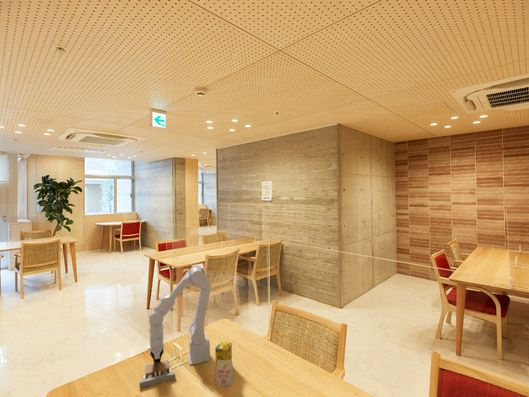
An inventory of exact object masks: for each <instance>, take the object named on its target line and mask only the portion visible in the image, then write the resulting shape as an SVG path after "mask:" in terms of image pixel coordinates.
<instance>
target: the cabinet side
mask: <svg viewBox="0 0 529 397" xmlns="http://www.w3.org/2000/svg"><path fill="white" fill-rule="evenodd" d="M175 379H176V371H172V368H171V367H170V368H169V373H167V374H163V375H161V371H159V376H156V372H155V377H151V378H147V379H146V374H145V373H143V379H140V380H139V389H142V388H145V387H149V386H152V385H153V386H154V385H157V384H160V383H164V382H169V381H173V380H175Z"/></svg>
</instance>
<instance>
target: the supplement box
mask: <svg viewBox="0 0 529 397" xmlns="http://www.w3.org/2000/svg"><path fill="white" fill-rule="evenodd" d="M232 344H233V342H231V341H230V342H229V341H223V340H222V341H221V340H220V341H219V342H218V344H217V345H216V347H215V348H214V349H215V352H214V353H215V357H214V358H215V362H214V363H216V359H217V360H232V361H233V359H232V357H233V355H232V353H233V352H232V350H233V349H232V348H233V346H232Z"/></svg>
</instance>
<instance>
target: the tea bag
mask: <svg viewBox="0 0 529 397" xmlns="http://www.w3.org/2000/svg"><path fill="white" fill-rule="evenodd" d="M214 372H215V373H214V375H215V378H214V379H215V382H214V383H215V384H214V386H215V387H228V386H229V387H228V388H230V387H232V386H233V382H234V364H233V359H232V360H217V359H216V362H215V371H214Z"/></svg>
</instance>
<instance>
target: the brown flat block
mask: <svg viewBox="0 0 529 397" xmlns="http://www.w3.org/2000/svg"><path fill="white" fill-rule="evenodd" d="M144 366H145V367H144V374H146V379H147V378H151V377H155V372H156V376H159V371H161V375H163V374H167V373H169V368H171V367H170V360H169V359H167V360H164V361H160V362H158V363H154V362H153V363H151V364H146V365H144Z"/></svg>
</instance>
